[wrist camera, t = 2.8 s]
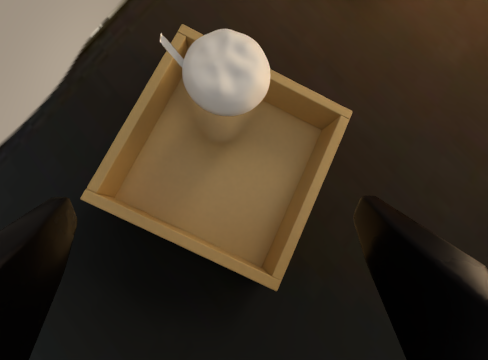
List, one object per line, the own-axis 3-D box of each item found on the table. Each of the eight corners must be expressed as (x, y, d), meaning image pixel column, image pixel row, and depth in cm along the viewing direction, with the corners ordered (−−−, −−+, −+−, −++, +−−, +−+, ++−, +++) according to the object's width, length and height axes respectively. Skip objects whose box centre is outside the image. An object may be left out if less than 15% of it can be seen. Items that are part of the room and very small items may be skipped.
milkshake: (186, 89, 23) (169, -10, 13) (252, 102, 23) (285, 15, 13) (176, 144, 22) (150, 84, 12) (244, 156, 22) (273, 107, 13)
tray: (265, 278, 22) (277, 291, 18) (103, 202, 21) (79, 199, 17) (330, 128, 24) (353, 111, 20) (186, 55, 23) (181, 23, 20)
